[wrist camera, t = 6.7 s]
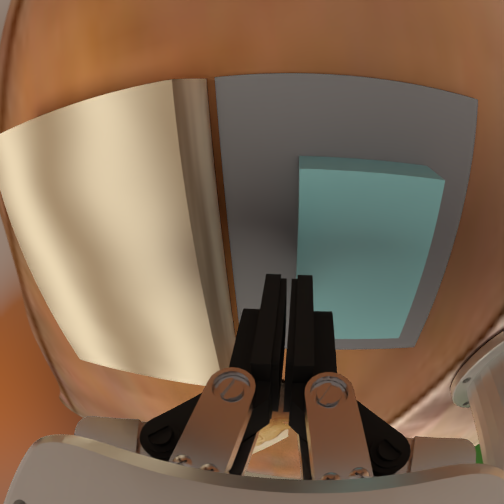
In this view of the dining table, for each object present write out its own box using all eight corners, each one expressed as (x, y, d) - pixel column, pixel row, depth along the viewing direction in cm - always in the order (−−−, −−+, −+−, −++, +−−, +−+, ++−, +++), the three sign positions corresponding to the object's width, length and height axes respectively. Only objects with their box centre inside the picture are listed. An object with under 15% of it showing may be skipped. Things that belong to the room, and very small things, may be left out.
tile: (299, 168, 11) (299, 155, 12) (292, 337, 15) (293, 312, 17) (445, 180, 10) (426, 165, 11) (398, 338, 15) (391, 313, 16)
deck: (206, 78, 11) (171, 79, 8) (235, 339, 20) (224, 388, 16) (36, 120, 13) (-12, 140, 10) (102, 322, 21) (80, 359, 18)
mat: (472, 98, 10) (477, 99, 9) (412, 341, 18) (414, 347, 18) (217, 77, 11) (214, 77, 11) (243, 340, 20) (241, 345, 19)
